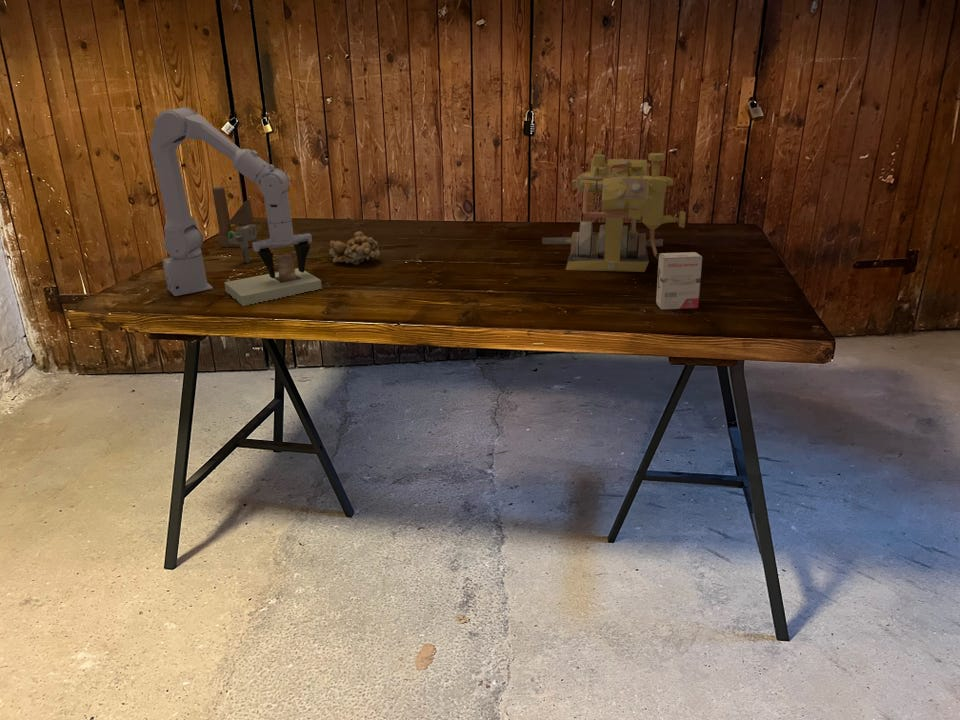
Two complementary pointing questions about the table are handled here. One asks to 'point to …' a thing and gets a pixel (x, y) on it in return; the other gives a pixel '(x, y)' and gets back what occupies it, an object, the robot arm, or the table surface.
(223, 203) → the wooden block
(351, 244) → the mineral formation
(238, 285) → the socket board
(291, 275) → the birch peg
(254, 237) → the mechanical component
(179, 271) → the robot arm
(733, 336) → the table surface
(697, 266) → the ink box
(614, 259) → the mechanical engine
